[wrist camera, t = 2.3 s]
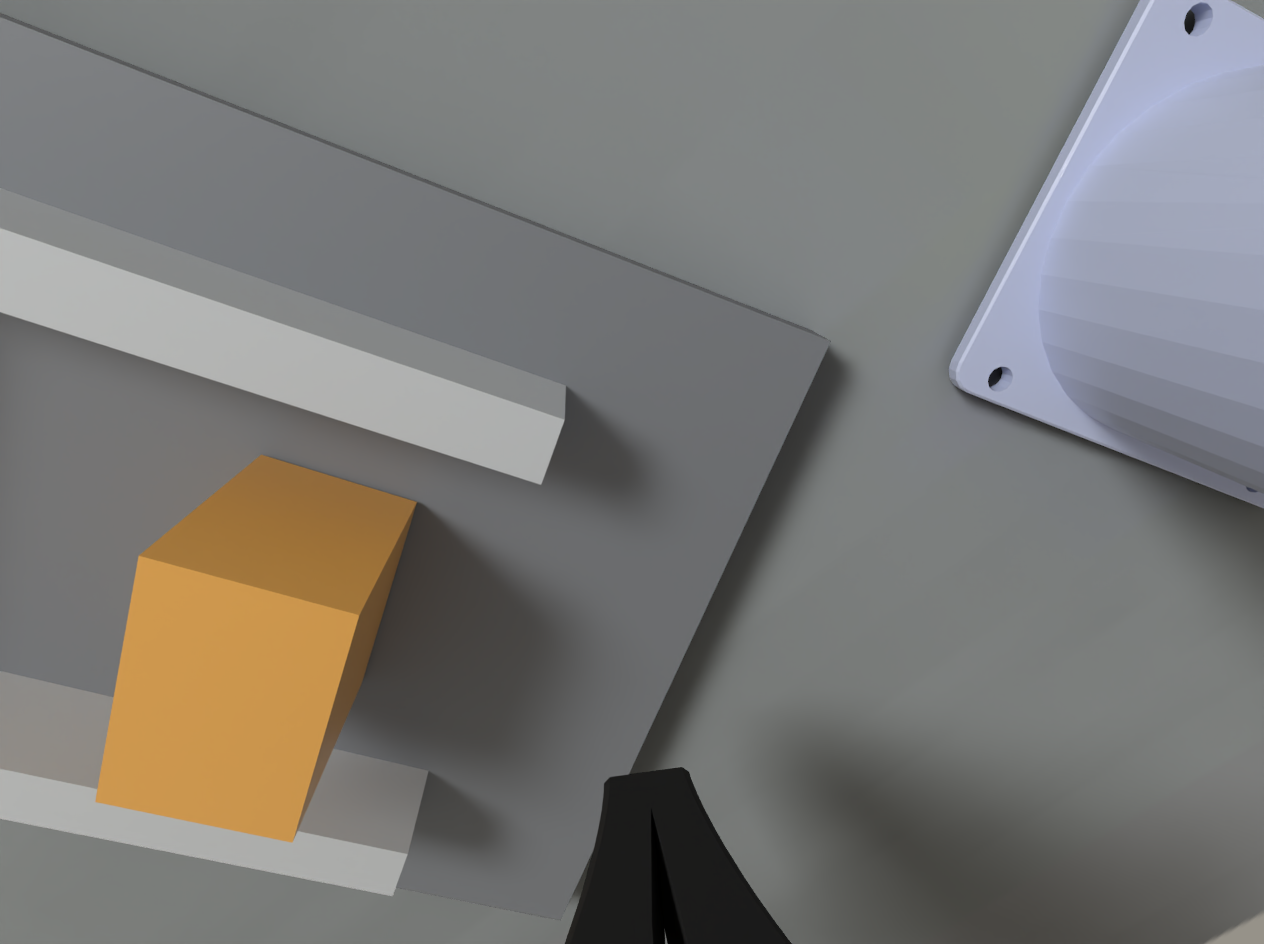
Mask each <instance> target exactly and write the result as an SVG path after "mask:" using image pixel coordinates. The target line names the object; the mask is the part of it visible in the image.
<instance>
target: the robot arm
mask: <svg viewBox="0 0 1264 944" xmlns="http://www.w3.org/2000/svg"><path fill="white" fill-rule="evenodd" d="M1189 10H1191V11H1192V12H1193V13H1194V15H1195V25H1194V28H1193V31H1192V32H1191V33H1190V35H1189V34H1188V33H1187V32H1186V31H1185V26H1184V20H1185V17H1186V14H1187V12H1188V11H1189ZM999 367H1001V369H1002V376H1001V379H1000V380H999V382H998V383H997V384H996V385H993V386H991V387H989V384H988V379H989V375H990V374H991V373H992V372H993V370H994V369H996V368H999ZM949 378H950V379H951V381H952V383H953V385H955V386H956V387H958V388H959V389H961V390H963V391H965V392H967V393H969V394H972V395H974V396H977V397H980V398H982V399H985V400H987V401H990V402H992V403H995V404H997V405H1000V406H1003V407H1005V408H1008V409H1010V410H1013V411H1015V412H1018V413H1021V414H1023V415H1026V416H1028V417H1031V418H1033V419H1036V420H1038V421H1041V422H1044V423H1046V424H1049V425H1051V426H1054V427H1056V428H1059V429H1061V430H1064V431H1067V432H1069V433H1072V434H1074V435H1077V436H1079V437H1082V438H1084V439H1087V440H1090V441H1092V442H1095V443H1097V444H1100V445H1102V446H1105V447H1108V448H1110V449H1113V450H1115V451H1118V452H1120V453H1123V454H1125V455H1128V456H1131V457H1133V458H1136V459H1138V460H1141V461H1143V462H1146V463H1148V464H1151V465H1154V466H1156V467H1159V468H1161V469H1164V470H1166V471H1169V472H1172V473H1174V474H1177V475H1179V476H1182V477H1184V478H1187V479H1189V480H1192V481H1195V482H1197V483H1200V484H1202V485H1205V486H1207V487H1210V488H1212V489H1215V490H1218V491H1220V492H1223V493H1225V494H1228V495H1230V496H1233V497H1236V498H1238V499H1241V500H1243V501H1246V502H1248V503H1251V504H1253V505H1256V506H1259V507H1261V508H1264V19H1263V18H1262V17H1260V16H1258V15H1256V14H1255V13H1253V12H1251V11H1249V10H1247V9H1246V8H1244V7H1242V6H1240V5H1238V4H1237V3H1235V2H1233V1H1231V0H1140V2H1139V3H1138V5H1137V7H1136V9H1135V11H1134V13H1133V15H1132V17H1131V19H1130V21H1129V22H1128V24H1127V26H1126V28H1125V30H1124V32H1123V34H1122V36H1121V38H1120V40H1119V42H1118V43H1117V45H1116V47H1115V49H1114V51H1113V53H1112V55H1111V57H1110V59H1109V61H1108V62H1107V64H1106V66H1105V68H1104V70H1103V72H1102V74H1101V76H1100V78H1099V80H1098V82H1097V83H1096V85H1095V87H1094V89H1093V91H1092V93H1091V95H1090V97H1089V99H1088V101H1087V103H1086V104H1085V106H1084V108H1083V110H1082V112H1081V114H1080V116H1079V118H1078V120H1077V122H1076V123H1075V125H1074V127H1073V129H1072V131H1071V133H1070V135H1069V137H1068V139H1067V141H1066V143H1065V144H1064V146H1063V148H1062V150H1061V152H1060V154H1059V156H1058V158H1057V160H1056V162H1055V164H1054V165H1053V167H1052V169H1051V171H1050V173H1049V175H1048V177H1047V179H1046V181H1045V183H1044V184H1043V186H1042V188H1041V190H1040V192H1039V194H1038V196H1037V198H1036V200H1035V202H1034V204H1033V205H1032V207H1031V209H1030V211H1029V213H1028V215H1027V217H1026V219H1025V221H1024V223H1023V225H1022V226H1021V228H1020V230H1019V232H1018V234H1017V236H1016V238H1015V240H1014V242H1013V244H1012V245H1011V247H1010V249H1009V251H1008V253H1007V255H1006V257H1005V259H1004V261H1003V263H1002V265H1001V266H1000V268H999V270H998V272H997V274H996V276H995V278H994V280H993V282H992V284H991V286H990V287H989V289H988V291H987V293H986V295H985V297H984V299H983V301H982V303H981V305H980V306H979V308H978V310H977V312H976V314H975V316H974V318H973V320H972V322H971V324H970V326H969V327H968V329H967V331H966V333H965V335H964V337H963V339H962V341H961V343H960V345H959V347H958V348H957V350H956V352H955V354H954V356H953V358H952V360H951V363H950V366H949ZM664 929H665V930H664ZM665 933H666V938H667V943H668V944H792V943H791V942H790V941H789V940H788V938H787V937H786V936H785V934H784V933H783V932H782V930H781V929H780V928H779V926H778V925H777V924H776V922H775V921H774V920H773V918H772V917H771V915H770V914H769V913H768V911H767V910H766V908H765V907H764V906H763V904H762V903H761V901H760V900H759V898H758V897H757V896H756V894H755V893H754V891H753V890H752V888H751V887H750V885H749V884H748V882H747V881H746V879H745V878H744V876H743V875H742V873H741V871H740V870H739V868H738V867H737V865H736V863H735V862H734V860H733V858H732V857H731V855H730V854H729V852H728V850H727V849H726V847H725V846H724V844H723V842H722V840H721V839H720V837H719V835H718V833H717V832H716V830H715V828H714V826H713V824H712V822H711V821H710V819H709V817H708V815H707V813H706V811H705V809H704V807H703V805H702V803H701V801H700V799H699V797H698V794H697V792H696V790H695V787H694V785H693V783H692V780H691V777H690V774H689V772H688V771H687V770H685V769H684V768H682V767H680V768H672V769H665V770H658V771H650V772H643V773H636V774H628V775H621V776H614V777H609V779H608V780H607V781H606V782H605V783H604V793H603V803H602V811H601V817H600V822H599V828H598V832H597V837H596V841H595V846H594V850H593V854H592V858H591V861H590V865H589V869H588V872H587V876H586V880H585V883H584V887H583V890H582V894H581V897H580V900H579V903H578V906H577V909H576V912H575V915H574V918H573V921H572V924H571V927H570V930H569V933H568V936H567V939H566V942H565V944H665Z"/></svg>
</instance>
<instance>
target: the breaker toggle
mask: <svg viewBox="0 0 1264 944" xmlns="http://www.w3.org/2000/svg"><path fill="white" fill-rule="evenodd" d="M416 504H417V502H415V501H412V500H409V499H406V498H402V497H399V496H396V495H392V494H389V493H386V492H383V491H379V490H376V489H373V488H369V487H366V486H363V485H360V484H356V483H353V482H350V481H346V480H343V479H340V478H337V477H333V476H330V475H327V474H323V473H320V472H317V471H314V470H310V469H307V468H304V467H300V466H297V465H294V464H291V463H287V462H284V461H281V460H277V459H274V458H271V457H268V456H264V455H260V456H259V457H258V458H256V459H255V460H254V461H253V462H252V463H250V464H249V465H248V466H247V467H246V468H244V469H243V470H242V471H241V472H239V473H238V474H237V475H236V476H235V477H233V478H232V479H231V480H230V481H229V482H227V483H226V484H225V485H224V486H223V487H221V488H220V489H219V490H218V491H216V492H215V493H214V494H213V495H212V496H210V497H209V498H208V499H207V500H206V501H204V502H203V503H202V504H201V505H199V506H198V507H197V508H196V509H195V510H193V511H192V512H191V513H190V514H189V515H187V516H186V517H185V518H184V519H183V520H181V521H180V522H179V523H178V524H176V525H175V526H174V527H173V528H172V529H170V530H169V531H168V532H167V533H166V534H164V535H163V536H162V537H161V538H160V539H158V540H157V541H156V542H155V543H153V544H152V545H151V546H150V547H149V548H147V549H146V550H145V551H144V552H143V553H141V554H140V555H139V557H138V562H137V568H136V574H135V579H134V585H133V590H132V596H131V602H130V607H129V613H128V619H127V624H126V630H125V636H124V641H123V647H122V653H121V658H120V664H119V670H118V675H117V681H116V687H115V692H114V698H113V704H112V709H111V715H110V720H109V726H108V732H107V737H106V743H105V749H104V754H103V760H102V766H101V771H100V777H99V783H98V788H97V794H96V800H95V802H97V803H102V804H107V805H112V806H117V807H121V808H126V809H131V810H136V811H141V812H146V813H151V814H155V815H160V816H165V817H170V818H175V819H180V820H184V821H189V822H194V823H199V824H204V825H209V826H214V827H218V828H223V829H228V830H233V831H238V832H243V833H247V834H252V835H257V836H262V837H267V838H272V839H277V840H281V841H286V842H291V843H293V841H294V838H295V836H296V834H297V831H298V829H299V827H300V824H301V822H302V820H303V817H304V815H305V813H306V811H307V808H308V806H309V804H310V801H311V799H312V797H313V794H314V792H315V790H316V787H317V785H318V783H319V781H320V778H321V776H322V774H323V771H324V769H325V767H326V764H327V762H328V760H329V758H330V755H331V753H332V751H333V748H334V746H335V744H336V741H337V739H338V737H339V734H340V732H341V730H342V728H343V725H344V723H345V721H346V718H347V716H348V714H349V711H350V709H351V707H352V704H353V702H354V700H355V698H356V695H357V693H358V691H359V688H360V686H361V684H362V681H363V678H364V674H365V671H366V668H367V664H368V661H369V658H370V655H371V651H372V648H373V645H374V641H375V638H376V635H377V632H378V628H379V625H380V622H381V619H382V615H383V612H384V609H385V605H386V602H387V599H388V596H389V592H390V589H391V586H392V582H393V579H394V576H395V573H396V569H397V566H398V563H399V560H400V556H401V553H402V550H403V546H404V543H405V540H406V537H407V533H408V530H409V527H410V524H411V520H412V517H413V514H414V510H415V507H416Z"/></svg>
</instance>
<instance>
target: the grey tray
mask: <svg viewBox="0 0 1264 944" xmlns="http://www.w3.org/2000/svg"><path fill="white" fill-rule="evenodd" d="M830 342H831V341H830V340H828V339H826V338H824V337H823V336H821V335H819V334H817V333H815V332H813V331H812V330H809V329H806V328H804V327H801V326H799V325H796V324H794V323H791V322H789V321H786V320H783V319H781V318H778V317H776V316H773V315H771V314H768V313H766V312H763V311H760V310H758V309H755V308H753V307H750V306H748V305H745V304H743V303H740V302H737V301H735V300H732V299H730V298H727V297H725V296H722V295H720V294H717V293H714V292H712V291H709V290H707V289H704V288H702V287H699V286H697V285H694V284H691V283H689V282H686V281H684V280H681V279H679V278H676V277H674V276H671V275H668V274H666V273H663V272H661V271H658V270H656V269H653V268H651V267H648V266H645V265H643V264H640V263H638V262H635V261H633V260H630V259H628V258H625V257H622V256H620V255H617V254H615V253H612V252H610V251H607V250H605V249H602V248H599V247H597V246H594V245H592V244H589V243H587V242H584V241H581V240H579V239H576V238H574V237H571V236H569V235H566V234H564V233H561V232H558V231H556V230H553V229H551V228H548V227H546V226H543V225H541V224H538V223H535V222H533V221H530V220H528V219H525V218H523V217H520V216H518V215H515V214H512V213H510V212H507V211H505V210H502V209H500V208H497V207H495V206H492V205H489V204H487V203H484V202H482V201H479V200H477V199H474V198H472V197H469V196H466V195H464V194H461V193H459V192H456V191H454V190H451V189H449V188H446V187H443V186H441V185H438V184H436V183H433V182H431V181H428V180H426V179H423V178H420V177H418V176H415V175H413V174H410V173H408V172H405V171H403V170H400V169H397V168H395V167H392V166H390V165H387V164H385V163H382V162H380V161H377V160H374V159H372V158H369V157H367V156H364V155H362V154H359V153H357V152H354V151H351V150H349V149H346V148H344V147H341V146H339V145H336V144H333V143H331V142H328V141H326V140H323V139H321V138H318V137H316V136H313V135H310V134H308V133H305V132H303V131H300V130H298V129H295V128H293V127H290V126H287V125H285V124H282V123H280V122H277V121H275V120H272V119H270V118H267V117H264V116H262V115H259V114H257V113H254V112H252V111H249V110H247V109H244V108H241V107H239V106H236V105H234V104H231V103H229V102H226V101H224V100H221V99H218V98H216V97H213V96H211V95H208V94H206V93H203V92H201V91H198V90H195V89H193V88H190V87H188V86H185V85H183V84H180V83H178V82H175V81H172V80H170V79H167V78H165V77H162V76H160V75H157V74H155V73H152V72H149V71H147V70H144V69H142V68H139V67H137V66H134V65H132V64H129V63H126V62H124V61H121V60H119V59H116V58H114V57H111V56H109V55H106V54H103V53H101V52H98V51H96V50H93V49H91V48H88V47H85V46H83V45H80V44H78V43H75V42H73V41H70V40H68V39H65V38H62V37H60V36H57V35H55V34H52V33H50V32H47V31H45V30H42V29H39V28H37V27H34V26H32V25H29V24H27V23H24V22H22V21H19V20H16V19H14V18H11V17H9V16H6V15H4V14H1V13H0V819H5V820H10V821H15V822H20V823H25V824H30V825H35V826H40V827H45V828H50V829H55V830H60V831H65V832H70V833H75V834H81V835H86V836H91V837H96V838H101V839H106V840H111V841H116V842H121V843H126V844H131V845H136V846H141V847H146V848H151V849H156V850H161V851H167V852H172V853H177V854H182V855H187V856H192V857H197V858H202V859H207V860H212V861H217V862H222V863H227V864H232V865H237V866H242V867H247V868H253V869H258V870H263V871H268V872H273V873H278V874H283V875H288V876H293V877H298V878H303V879H308V880H313V881H318V882H323V883H328V884H333V885H339V886H344V887H349V888H354V889H359V890H364V891H369V892H374V893H379V894H384V895H389V896H393V893H394V891H395V888H400V889H405V890H410V891H415V892H420V893H425V894H430V895H435V896H440V897H445V898H450V899H455V900H460V901H465V902H470V903H475V904H480V905H485V906H490V907H495V908H500V909H505V910H510V911H515V912H520V913H525V914H530V915H535V916H540V917H545V918H550V919H555V920H560V921H561V918H562V916H563V914H564V912H565V910H566V908H567V906H568V903H569V901H570V899H571V897H572V895H573V893H574V891H575V888H576V886H577V884H578V882H579V880H580V878H581V876H582V873H583V871H584V869H585V867H586V865H587V863H588V861H589V858H590V856H591V854H592V852H593V850H594V846H595V841H596V837H597V832H598V828H599V822H600V817H601V811H602V803H603V793H604V783H605V782H606V781H607V780H608V779H609V777H614V776H621V775H628V774H629V773H630V771H631V769H632V766H633V764H634V762H635V760H636V758H637V756H638V754H639V751H640V749H641V747H642V745H643V743H644V741H645V739H646V736H647V734H648V732H649V730H650V728H651V726H652V724H653V721H654V719H655V717H656V715H657V713H658V711H659V709H660V706H661V704H662V702H663V700H664V698H665V696H666V694H667V691H668V689H669V687H670V685H671V683H672V681H673V679H674V676H675V674H676V672H677V670H678V668H679V666H680V664H681V661H682V659H683V657H684V655H685V653H686V651H687V649H688V646H689V644H690V642H691V640H692V638H693V636H694V634H695V631H696V629H697V627H698V625H699V623H700V621H701V619H702V616H703V614H704V612H705V610H706V608H707V606H708V604H709V601H710V599H711V597H712V595H713V593H714V591H715V589H716V586H717V584H718V582H719V580H720V578H721V576H722V574H723V571H724V569H725V567H726V565H727V563H728V561H729V559H730V556H731V554H732V552H733V550H734V548H735V546H736V544H737V541H738V539H739V537H740V535H741V533H742V531H743V529H744V526H745V524H746V522H747V520H748V518H749V516H750V514H751V511H752V509H753V507H754V505H755V503H756V501H757V499H758V496H759V494H760V492H761V490H762V488H763V486H764V484H765V482H766V479H767V477H768V475H769V473H770V471H771V469H772V467H773V464H774V462H775V460H776V458H777V456H778V454H779V452H780V449H781V447H782V445H783V443H784V441H785V439H786V437H787V434H788V432H789V430H790V428H791V426H792V424H793V422H794V419H795V417H796V415H797V413H798V411H799V409H800V407H801V404H802V402H803V400H804V398H805V396H806V394H807V392H808V389H809V387H810V385H811V383H812V381H813V379H814V377H815V374H816V372H817V370H818V368H819V366H820V364H821V362H822V359H823V357H824V355H825V353H826V351H827V349H828V347H829V344H830ZM260 455H264V456H268V457H271V458H274V459H277V460H281V461H284V462H287V463H291V464H294V465H297V466H300V467H304V468H307V469H310V470H314V471H317V472H320V473H323V474H327V475H330V476H333V477H337V478H340V479H343V480H346V481H350V482H353V483H356V484H360V485H363V486H366V487H369V488H373V489H376V490H379V491H383V492H386V493H389V494H392V495H396V496H399V497H402V498H406V499H409V500H412V501H415V502H417V504H416V507H415V510H414V514H413V517H412V520H411V524H410V527H409V530H408V533H407V537H406V540H405V543H404V546H403V550H402V553H401V556H400V560H399V563H398V566H397V569H396V573H395V576H394V579H393V582H392V586H391V589H390V592H389V596H388V599H387V602H386V605H385V609H384V612H383V615H382V619H381V622H380V625H379V628H378V632H377V635H376V638H375V641H374V645H373V648H372V651H371V655H370V658H369V661H368V664H367V668H366V671H365V674H364V678H363V681H362V684H361V686H360V688H359V691H358V693H357V695H356V698H355V700H354V702H353V704H352V707H351V709H350V711H349V714H348V716H347V718H346V721H345V723H344V725H343V728H342V730H341V732H340V734H339V737H338V739H337V741H336V744H335V746H334V748H333V751H332V753H331V755H330V758H329V760H328V762H327V764H326V767H325V769H324V771H323V774H322V776H321V778H320V781H319V783H318V785H317V787H316V790H315V792H314V794H313V797H312V799H311V801H310V804H309V806H308V808H307V811H306V813H305V815H304V817H303V820H302V822H301V824H300V827H299V829H298V831H297V834H296V836H295V838H294V841H293V843H291V842H286V841H281V840H277V839H272V838H267V837H262V836H257V835H252V834H247V833H243V832H238V831H233V830H228V829H223V828H218V827H214V826H209V825H204V824H199V823H194V822H189V821H184V820H180V819H175V818H170V817H165V816H160V815H155V814H151V813H146V812H141V811H136V810H131V809H126V808H121V807H117V806H112V805H107V804H102V803H97V802H95V800H96V794H97V788H98V783H99V777H100V771H101V766H102V760H103V754H104V749H105V743H106V737H107V732H108V726H109V720H110V715H111V709H112V704H113V698H114V692H115V687H116V681H117V675H118V670H119V664H120V658H121V653H122V647H123V641H124V636H125V630H126V624H127V619H128V613H129V607H130V602H131V596H132V590H133V585H134V579H135V574H136V568H137V562H138V557H139V555H140V554H141V553H143V552H144V551H145V550H146V549H147V548H149V547H150V546H151V545H152V544H153V543H155V542H156V541H157V540H158V539H160V538H161V537H162V536H163V535H164V534H166V533H167V532H168V531H169V530H170V529H172V528H173V527H174V526H175V525H176V524H178V523H179V522H180V521H181V520H183V519H184V518H185V517H186V516H187V515H189V514H190V513H191V512H192V511H193V510H195V509H196V508H197V507H198V506H199V505H201V504H202V503H203V502H204V501H206V500H207V499H208V498H209V497H210V496H212V495H213V494H214V493H215V492H216V491H218V490H219V489H220V488H221V487H223V486H224V485H225V484H226V483H227V482H229V481H230V480H231V479H232V478H233V477H235V476H236V475H237V474H238V473H239V472H241V471H242V470H243V469H244V468H246V467H247V466H248V465H249V464H250V463H252V462H253V461H254V460H255V459H256V458H258V457H259V456H260Z"/></svg>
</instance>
